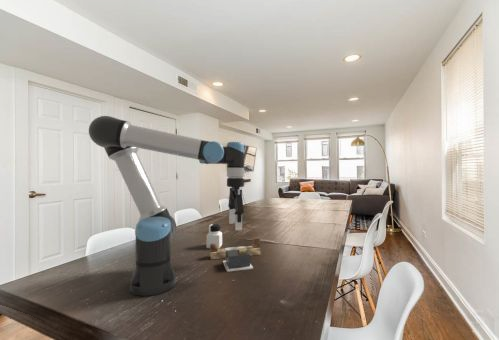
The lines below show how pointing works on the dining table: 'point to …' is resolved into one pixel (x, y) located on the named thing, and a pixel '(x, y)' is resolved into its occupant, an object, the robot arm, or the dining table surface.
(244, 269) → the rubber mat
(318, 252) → the dining table surface
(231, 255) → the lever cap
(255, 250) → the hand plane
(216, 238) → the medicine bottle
